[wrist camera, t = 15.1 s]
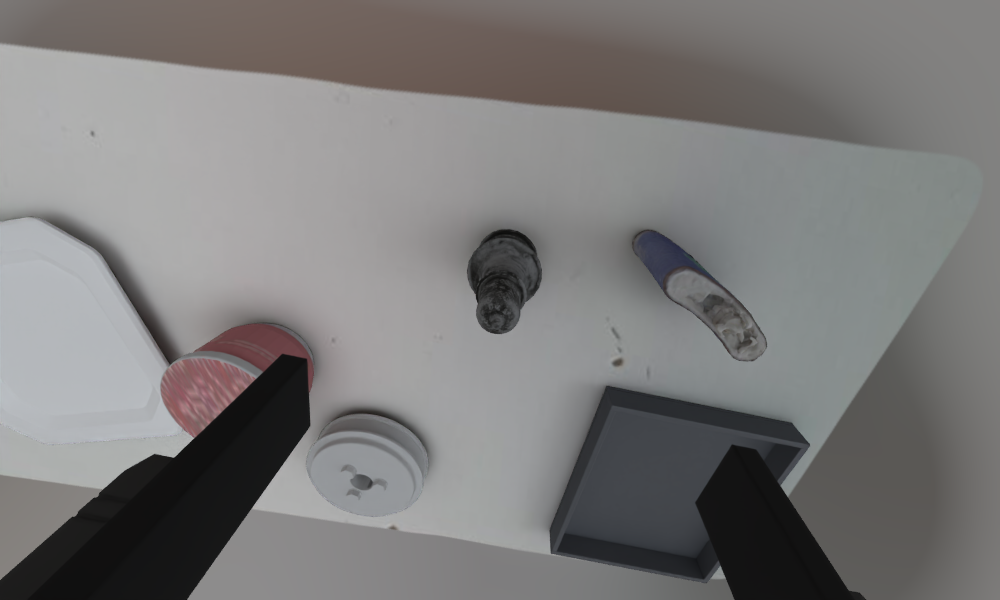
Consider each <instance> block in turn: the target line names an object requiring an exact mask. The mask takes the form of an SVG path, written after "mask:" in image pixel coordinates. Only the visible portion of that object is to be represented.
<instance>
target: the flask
mask: <svg viewBox="0 0 1000 600" xmlns="http://www.w3.org/2000/svg"><path fill="white" fill-rule="evenodd" d="M633 250H634V252H635V254H636V255H637V256H638V257H639V258H640V259H641V261H642V262H643V263H644V265H645V266H646V267H647V268H648V270H649V271H650V272H651V274H652V275H653V277H654V278H655V280H656V281H657V282H658V284H659V285H660V287H661V289H662V290H663V291H664V293H665V294H666V295H667V297H668V298H669V299H671V300H672V301H674V302H675V303H677V304H679V305H681V306H682V307H684V308H686V309H687V310H689V311H691V312H692V313H693V314H695V315H696V316H697V317H698V318H699V319H700V320H702V322H703V323H705V324H706V325H707V326H708V327H709V328H710V329H711V330H712V331H713V332H714V334H715V335H716V336H717V337H718V339H719V340H720V341H721V342H722V343H723V345H724V347H725V348H726V349H727V351H728V352H729V354H731V356H732V357H733V358H734V359H736V360H739V361H754V360H756V359H757V358H758V357H759V356H761V355H762V354H763V353H764V351H765V349H766V348H767V342H766V338H765V336H764V334H763V333H762V331H761V330H760V328H759V326H758V325H757V324H756V322H755V320H754V319H753V317H752V315H751V314H750V313H749V312H748V310H747V309H746V308H745V307H744V306H743V305H742V304H741V303H740V302H739V301H738V300H737V299H736V298H735V297H734V296H733V295H732V294H731V293H730V292H729V291H728V290H727V289H726V288H724V287H723V286H722V285H721V284H720V283H719V282H718V281H716V280H715V279H714V278H713V277H712V276H711V275H710V274H709V273H708V272H707V271H706V270H705V269H704V268H703V267H702V266H701V265H700V264H699V263H698V262H697V261H695V260H694V258H693V257H692V256H691V255H689V254H687V253H686V252H685V251H684V250H683V249H681V248H680V247H679V246H678V245H676V244H675V243H673V242H672V241H671V240H670V239H668V238H666V237H665V236H664V235H662V234H660V233H657V232H656V231H652V230H651V231H649V230H646V231H643V233H642V232H641V233H639V234H638V235H637V236H636V237H635V239H634V240H633Z"/></svg>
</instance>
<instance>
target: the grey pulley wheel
mask: <svg viewBox="0 0 1000 600" xmlns="http://www.w3.org/2000/svg"><path fill="white" fill-rule="evenodd" d="M306 467H307V472H308V475H309V478H310V480H311V482H312V483H313V484H314V486H315V488H316V489H317V491H318V492H319V493H320V494H321V495H322V496H323V497H324V498H325V499H326V500H327V501H329V502H330V503H331V504H333V505H334V506H336V507H338V508H340V509H342V510H344V511H347V512H350V513H353V514H356V515H361V516H370V517H378V516H386V515H390V514H394V513H397V512H400V511H403V510H405V509H407V508H408V507H410V506H411V505H413V504H414V503H415V502H416V501H417V499H418V498H419V496H420V494H421V492H422V488H423V481H424V478H425V476H426V474H427V470H428V456H427V453H426V450H425V448H424V446H423V444H422V443H421V441H420V440H419V439H418V438H417V437H416V436H415V435H414V434H413V433H412V432H411V431H410V430H409V429H407V428H406V427H404V426H403V425H401V424H399V423H397V422H395V421H393V420H391V419H388V418H385V417H382V416H378V415H372V414H351V415H346V416H343V417H340V418H338V419H335V420H334V421H332V422H331V423H329V424H328V425H327V426H326V427H325V428H324V429H323V431H322V432H321V434H320V436H319V438H318V441H317V442H315V443H314V445H313V446H312V447H311V449H310V451H309V453H308V456H307V460H306Z"/></svg>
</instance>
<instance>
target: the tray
mask: <svg viewBox="0 0 1000 600" xmlns="http://www.w3.org/2000/svg"><path fill="white" fill-rule="evenodd" d="M732 444H733V445H737V446H742V447H747V448H752V449H756V450H757V451H758V453H759V454H760V456H761V457H762V459H763V460H764V462H765V463H766V465H767V466H768V468H769V469H770V471H771V472H772V474H773V476H774V477H775V479H776V480H777V482H778V483H779V485H781V484H782V483H783V481H784V480H785V479H786V477H787V476H788V475H789V473H790V472H791V471H792V469H793V468H794V467H795V465H796V464H797V463H798V461H799V460H800V459H801V457H802V456H803V455H804V453H805V452H806V451H807V449H808V448H809V446H810V444H809V443H808V442H807V440H806V439H805V438H804V437H803V436H802V435H801V433H800V432H799V431H798V430H797V429H796V427H795V426H794V425H793V424H792V423H788V422H783V421H778V420H773V419H768V418H763V417H758V416H754V415H749V414H744V413H739V412H734V411H729V410H724V409H719V408H714V407H709V406H704V405H699V404H694V403H689V402H684V401H679V400H674V399H669V398H664V397H659V396H654V395H649V394H644V393H639V392H634V391H629V390H625V389H620V388H615V387H610V386H606V389H605V391H604V394H603V397H602V399H601V402H600V404H599V407H598V409H597V412H596V414H595V417H594V419H593V422H592V424H591V427H590V429H589V432H588V435H587V437H586V440H585V442H584V445H583V447H582V450H581V452H580V455H579V457H578V460H577V462H576V465H575V467H574V470H573V472H572V475H571V478H570V480H569V483H568V485H567V488H566V490H565V493H564V495H563V498H562V500H561V503H560V505H559V508H558V510H557V513H556V516H555V518H554V521H553V523H552V526H551V528H550V548H551V554H556V555H561V556H566V557H572V558H577V559H582V560H587V561H592V562H598V563H603V564H608V565H613V566H619V567H624V568H629V569H634V570H639V571H645V572H650V573H655V574H661V575H666V576H671V577H676V578H682V579H687V580H692V581H697V582H702V583H707V582H708V581H709V580H710V578H711V577H712V576H713V574H714V573H715V572H716V570H717V569H718V568H719V566H720V563H719V560H718V558H717V555H716V553H715V550H714V548H713V546H712V543H711V541H710V538H709V536H708V533H707V531H706V528H705V526H704V524H703V521H702V519H701V516H700V514H699V511H698V509H697V506H696V504H695V502H696V500H697V499H698V497H699V496H700V494H701V492H702V491H703V489H704V488H705V486H706V484H707V483H708V481H709V480H710V478H711V477H712V475H713V473H714V472H715V470H716V469H717V467H718V466H719V464H720V462H721V461H722V459H723V458H724V456H725V454H726V453H727V451H728V450H729V448H730V447H731V445H732Z"/></svg>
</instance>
